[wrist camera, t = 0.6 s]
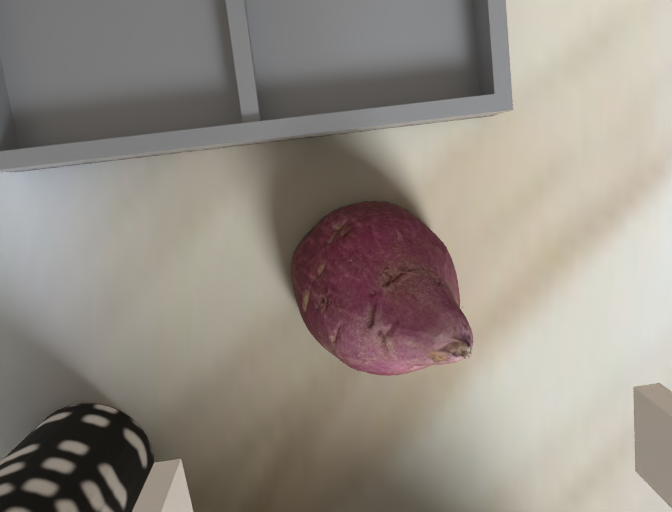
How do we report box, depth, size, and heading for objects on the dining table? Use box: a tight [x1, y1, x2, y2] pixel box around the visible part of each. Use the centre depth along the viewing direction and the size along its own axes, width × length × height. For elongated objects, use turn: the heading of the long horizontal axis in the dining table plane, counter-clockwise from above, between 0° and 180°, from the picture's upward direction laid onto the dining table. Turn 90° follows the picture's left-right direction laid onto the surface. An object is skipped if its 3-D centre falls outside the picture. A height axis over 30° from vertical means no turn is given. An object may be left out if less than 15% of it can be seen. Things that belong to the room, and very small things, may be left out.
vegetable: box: [291, 201, 473, 376], centre depth 31 cm, size 10×10×15 cm
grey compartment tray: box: [0, 0, 513, 172], centre depth 32 cm, size 15×30×4 cm, turn 97°
